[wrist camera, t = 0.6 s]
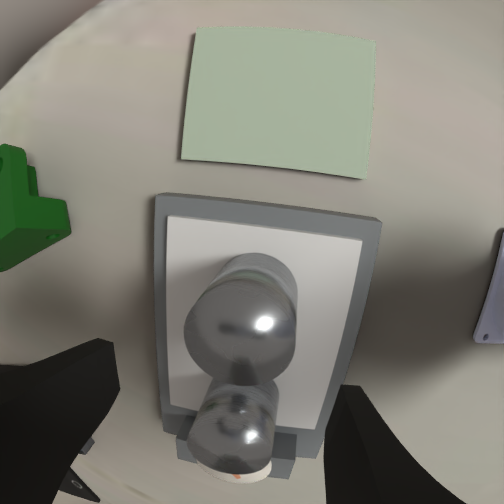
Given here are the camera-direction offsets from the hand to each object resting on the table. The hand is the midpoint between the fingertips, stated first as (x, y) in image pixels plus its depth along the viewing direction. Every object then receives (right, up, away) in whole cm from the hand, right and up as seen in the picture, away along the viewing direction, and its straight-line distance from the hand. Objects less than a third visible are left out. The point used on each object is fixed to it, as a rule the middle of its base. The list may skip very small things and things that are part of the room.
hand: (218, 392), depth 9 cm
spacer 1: (+1, +2, +8) cm, 8 cm away
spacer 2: (+1, -5, +10) cm, 11 cm away
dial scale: (+1, -2, +11) cm, 11 cm away
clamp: (-17, +8, +11) cm, 22 cm away
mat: (+2, +13, +7) cm, 15 cm away
